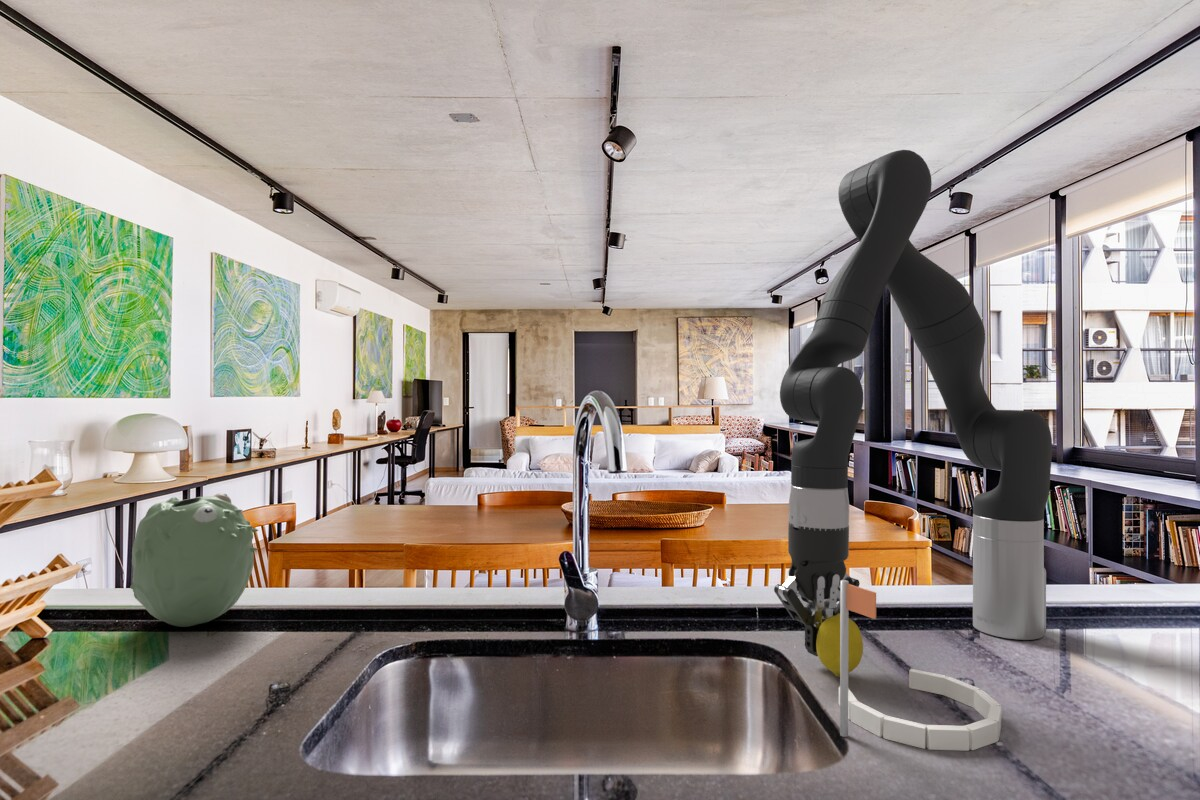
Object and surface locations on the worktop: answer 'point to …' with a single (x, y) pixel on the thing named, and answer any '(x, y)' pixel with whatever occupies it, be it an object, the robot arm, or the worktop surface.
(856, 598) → the white arc
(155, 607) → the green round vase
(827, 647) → the lemon
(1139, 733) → the worktop surface
